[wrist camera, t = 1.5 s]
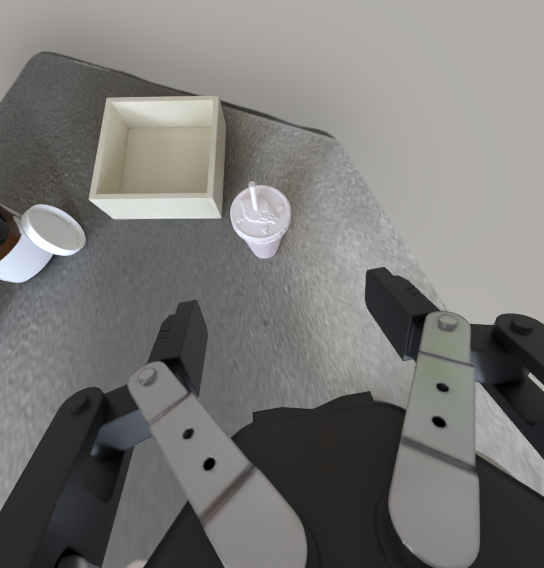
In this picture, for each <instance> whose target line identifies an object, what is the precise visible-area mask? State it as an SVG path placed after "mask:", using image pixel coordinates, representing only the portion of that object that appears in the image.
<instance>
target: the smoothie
mask: <svg viewBox="0 0 544 568" xmlns="http://www.w3.org/2000/svg"><path fill="white" fill-rule="evenodd" d="M230 216H231V221H232V225H233V227H234V230H235V231H236V232H237V234H238V235H239V236H240V237H242V238H243V239H244V240H245V241H246V242H247V244H248V245H249V247H250V248H251V250H252V251H253V253H254V254H255V255H256V256H258V257H259V258H263V259H266V258H270V257H272V256H274V255H275V254H276V252H277V250H278V247H279V244H280V242H281V239H282V236H283V234H284V233H285V232H286V231H287V229H288V227H289V225H290V221H291V208H290V204H289V201H288V199H287V198H286V196H285V195H284V194H283V193H282V192H281V191H279V190H278V189H276V188H274V187H271V186H267V185H255V183H254V182H253V181H251V182H250V183H249V188H246V189H245V190H243V191H242V192H240V193H239V194H238V195H237V196H236V198H235V199H234V201H233V203H232V206H231V210H230Z"/></svg>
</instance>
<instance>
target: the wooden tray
mask: <svg viewBox="0 0 544 568" xmlns="http://www.w3.org/2000/svg"><path fill="white" fill-rule="evenodd" d="M225 142H226V123H225V119H224V115H223V111H222V106H221V102H220V98H219V96H171V97H119V98H107V99H106V105H105V110H104V116H103V122H102V127H101V133H100V139H99V144H98V150H97V155H96V161H95V167H94V172H93V178H92V184H91V189H90V195H89V200H90V201H91V202H93V203H94V204H95V205H96V206H98V207H99V208H100V209H102V210H103V211H104V212H105V213H107V214H108V215H109V216H111V217H112V218H113V219H192V218H222V202H223V182H224V162H225Z"/></svg>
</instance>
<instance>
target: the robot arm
mask: <svg viewBox="0 0 544 568" xmlns="http://www.w3.org/2000/svg"><path fill="white" fill-rule="evenodd" d="M365 302H366V306H367V309H368V310H369V312H370V313H371V315H372V316H373V318H374V319H375V321H376V322H377V324H378V325H379V327H380V328H381V330H382V331H383V332H384V334H385V335H386V337H387V338H388V340H389V341H390V343H391V344H392V346H393V347H394V349H395V350H396V352H397V353H398V355H399V356H400V357H401V359H402V360H403V361H407V360H412V359H414V360H415V362H416V367H415V371H414V376H413V381H412V386H411V391H410V396H409V400H408V405H407V410H405V409H403V408H401V407H399V406H396V405H394V404H390V403H387V402H382V401H374V400H373V398H372V395H371V393H370V391H368V392H362V393H357V394H351V395H346V396H341V397H339V398H336V399H334V400H332V401H330V402H328V403H325V404H323V405H321V406H319V407H317V408H314V409H302V408H286V407H280V408H274V409H269V410H263V411H258V412H253V422H252V423H250V424H248V425H247V426H245V427H243V428H242V429H240V430H239V431H238V432H237V433H235V434H234V435H233V436H232V437H231V438H230V437H229V436H228V435H227V433H226V432H225V431H224V430H223V429H222V427H221V426H220V425H219V424H218V423H217V421H216V420H215V419H214V418H213V417H212V415H211V414H210V413H209V412H208V411H207V409H206V408H205V407H204V406H203V405H202V403H201V402H200V401H199V400H198V399H197V397H199V391H200V385H201V378H202V372H203V365H204V358H205V352H206V345H207V338H208V333H207V327H206V323H205V321H204V318H203V315H202V312H201V309H200V307H199V304H198V302H197V300H191V301H185V302H180V303H179V305H178V307H177V310H176V313H175V314H173V315H169V316H168V318H167V319H166V320H165V321H164V322H163V323H162V326H161V328H160V331H159V333H158V336H157V340H156V341H155V344H154V346H153V349H152V351H151V354H150V357H149V359H148V362H147V364H145V365H143V366H141V367H140V368H138V369H137V370H136V371H135V372H134V373H133V374H132V375H131V376H130V378H129V380H128V384H126V385H124V386H122V387H120V388H117V389H115V390H113V391H110V392H108V393H106V394H104V393H103V392H102V390H101V389H100V388H97V387H89V388H86V389H83V390H81V391H79V392H77V393H75V394H73V395H72V396H71V397H69V398H68V399H67V400H66V401H65V402H64V403H63V404H62V405H61V407H60V408H59V410H58V411H57V413H56V415H55V417H54V418H53V420H52V422H51V424H50V425H49V427H48V429H47V431H46V433H45V434H44V436H43V438H42V440H41V441H40V443H39V445H38V447H37V448H36V450H35V452H34V454H33V455H32V457H31V459H30V461H29V462H28V464H27V466H26V468H25V469H24V471H23V473H22V475H21V476H20V478H19V480H18V482H17V483H16V485H15V487H14V489H13V490H12V492H11V494H10V496H9V497H8V499H7V501H6V503H5V504H4V506H3V508H2V510H1V511H0V568H101V567H102V564H103V560H104V556H105V553H106V549H107V545H108V542H109V538H110V534H111V530H112V527H113V523H114V519H115V516H116V512H117V508H118V505H119V501H120V497H121V493H122V490H123V486H124V482H125V479H126V475H127V471H128V468H129V464H130V460H131V457H132V453H133V449H134V445H136V444H138V443H140V442H142V441H144V440H146V439H148V438H150V437H152V436H153V437H154V439H155V441H156V442H157V444H158V446H159V448H160V450H161V451H162V453H163V455H164V457H165V459H166V460H167V462H168V464H169V466H170V468H171V469H172V471H173V473H174V475H175V477H176V478H177V480H178V482H179V484H180V486H181V487H182V489H183V491H184V493H185V495H186V496H187V498H188V501H187V502H186V504H185V505H184V507H183V508H182V510H181V511H180V513H179V514H178V516H177V517H176V519H175V521H174V522H173V524H172V525H171V527H170V528H169V530H168V531H167V533H166V534H165V536H164V537H163V539H162V540H161V542H160V543H159V545H158V546H157V548H156V549H155V551H154V552H153V554H152V555H151V557H150V558H149V560H148V561H147V563H146V564H145V566H144V567H143V568H544V496H542V495H540V494H539V493H537V492H536V491H534V490H532V489H531V488H529V487H528V486H526V485H525V484H523V483H521V482H520V481H518V480H517V479H515V478H514V477H512V476H510V475H509V474H507V473H506V472H504V471H503V470H501V469H499V468H498V467H496V466H495V465H493V464H491V463H490V462H488V461H487V460H485V459H484V458H482V457H480V456H479V455H477V454H476V453H475V382H479V383H480V384H481V385H482V386H483V387H484V388H485V390H486V391H487V392H488V393H489V394H490V396H491V397H492V398H493V399H494V400H495V402H496V403H497V404H498V405H499V406H500V408H501V409H502V410H503V411H504V412H505V414H506V415H507V416H508V417H509V418H510V420H511V421H512V422H513V423H514V424H515V426H516V427H517V428H518V429H519V430H520V432H521V433H522V434H523V435H524V436H525V438H526V439H527V440H528V441H529V442H530V444H531V445H532V446H533V447H534V448H535V450H536V451H537V452H538V453H539V454H540V456H541V457H542V458H543V459H544V391H543V390H542V389H540V388H539V387H538V386H537V385H536V384H535V383H534V382H533V381H532V380H531V379H530V378H529V377H528V375H529V373H530V372H531V373H532V374H533V375H534V376H535V377H536V378H537V379H538V380H539V381H540V382H541V383H542V384H543V385H544V324H542V323H541V322H539V321H537V320H536V319H533V318H531V317H528V316H524V315H520V314H502V315H500V316H498V317H497V318H496V321H495V323H494V325H481V324H469V322H468V321H467V320H466V319H464V318H463V317H462V316H460V315H458V314H455V313H452V312H447V311H440V310H439V309H438V308H437V307H436V306H435V305H434V304H433V303H432V302H431V301H429V300H428V299H427V298H426V297H425V296H424V295H423V294H421V292H420V291H419V290H418V289H417V288H415V286H414V285H413V284H411V283H410V282H409V281H408V280H406V279H404V278H402V277H400V276H398V275H397V276H393V275H392V274H391V273H390V272H389V271H388V270H387V269H386V268H385V267H381V268H376V269H370V270H367V272H366V285H365Z"/></svg>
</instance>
